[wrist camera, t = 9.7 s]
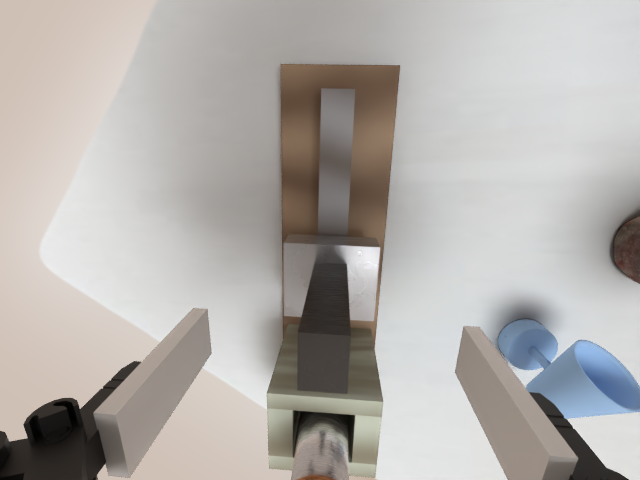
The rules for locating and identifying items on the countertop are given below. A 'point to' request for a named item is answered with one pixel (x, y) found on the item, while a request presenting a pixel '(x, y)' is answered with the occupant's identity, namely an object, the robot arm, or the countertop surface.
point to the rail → (363, 154)
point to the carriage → (328, 302)
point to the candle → (629, 249)
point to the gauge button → (321, 447)
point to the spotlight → (570, 372)
